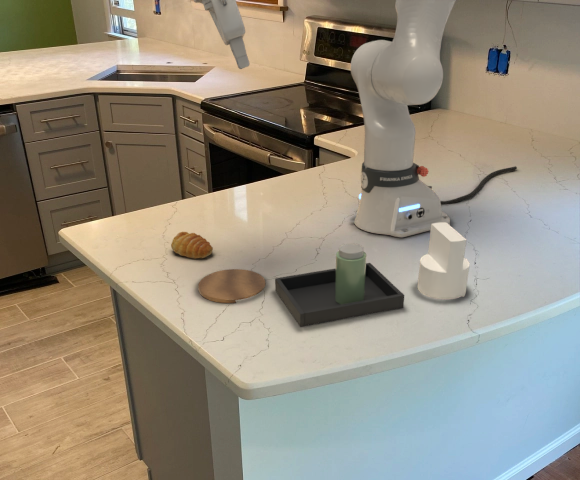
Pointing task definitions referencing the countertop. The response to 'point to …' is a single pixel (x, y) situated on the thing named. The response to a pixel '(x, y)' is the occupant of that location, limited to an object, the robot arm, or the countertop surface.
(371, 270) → the tray
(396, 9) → the robot arm
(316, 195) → the countertop surface
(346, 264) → the salt shaker
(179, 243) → the pastry
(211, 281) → the coaster
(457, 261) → the base with upright slab
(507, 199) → the countertop surface
